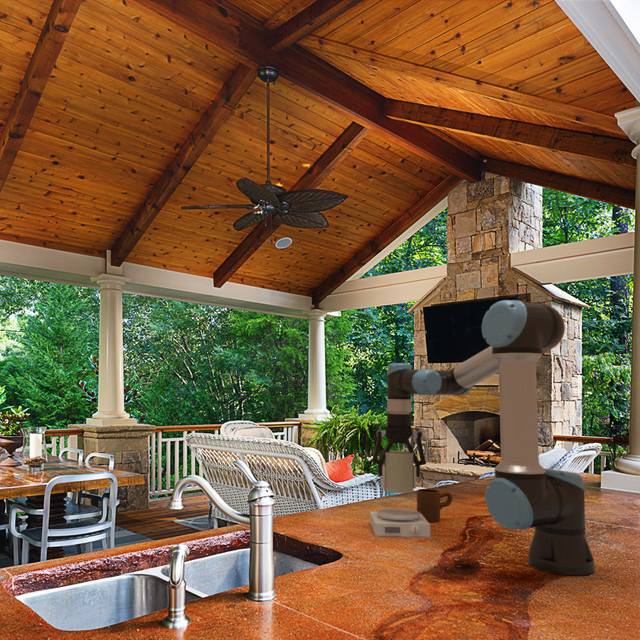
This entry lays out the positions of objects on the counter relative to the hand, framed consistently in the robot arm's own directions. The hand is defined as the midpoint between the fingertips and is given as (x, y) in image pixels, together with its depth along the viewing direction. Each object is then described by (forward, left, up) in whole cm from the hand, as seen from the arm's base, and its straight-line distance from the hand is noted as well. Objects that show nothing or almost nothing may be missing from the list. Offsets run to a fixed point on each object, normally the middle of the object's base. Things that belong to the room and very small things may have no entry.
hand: (398, 487), depth 177 cm
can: (0, 0, -1) cm, 1 cm away
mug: (+14, -14, -13) cm, 24 cm away
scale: (0, 0, -13) cm, 13 cm away
